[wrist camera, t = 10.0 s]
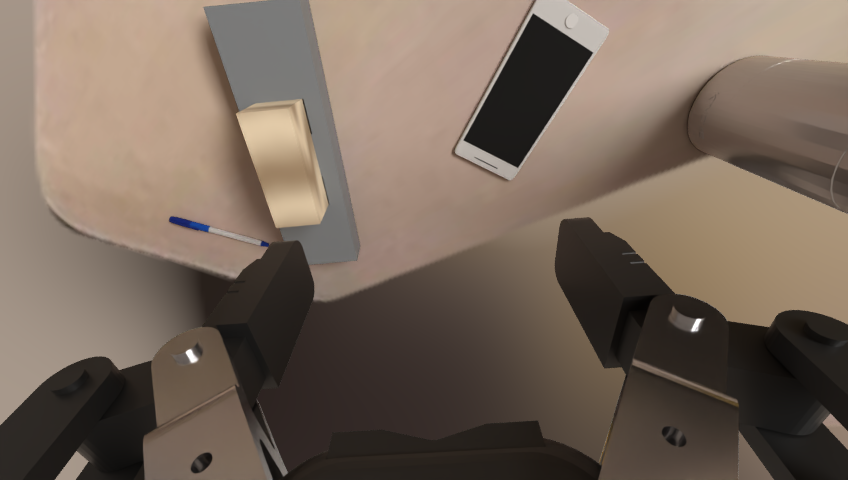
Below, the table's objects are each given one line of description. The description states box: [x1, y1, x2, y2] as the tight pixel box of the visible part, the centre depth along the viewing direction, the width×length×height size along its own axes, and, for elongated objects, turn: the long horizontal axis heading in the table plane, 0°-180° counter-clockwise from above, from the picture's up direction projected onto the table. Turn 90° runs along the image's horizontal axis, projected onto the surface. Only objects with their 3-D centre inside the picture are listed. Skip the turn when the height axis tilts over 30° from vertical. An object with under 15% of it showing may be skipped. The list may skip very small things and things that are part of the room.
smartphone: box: [455, 0, 609, 180], centre depth 33 cm, size 7×16×1 cm, turn 154°
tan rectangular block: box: [236, 99, 329, 228], centre depth 32 cm, size 10×4×7 cm, turn 5°
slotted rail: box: [204, 0, 360, 265], centre depth 34 cm, size 24×7×3 cm, turn 5°
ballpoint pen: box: [169, 217, 269, 247], centre depth 39 cm, size 10×1×1 cm, turn 71°
